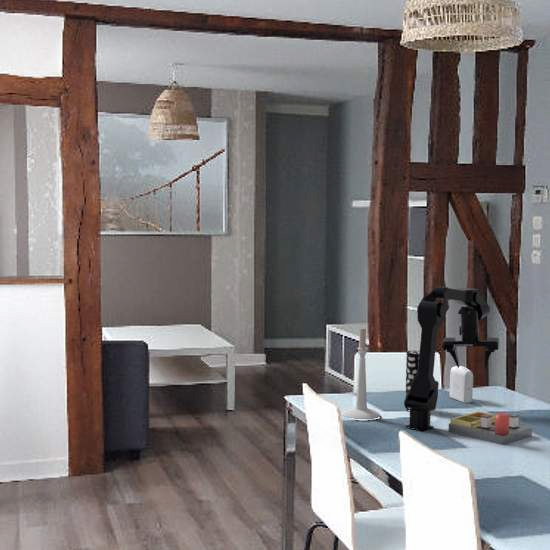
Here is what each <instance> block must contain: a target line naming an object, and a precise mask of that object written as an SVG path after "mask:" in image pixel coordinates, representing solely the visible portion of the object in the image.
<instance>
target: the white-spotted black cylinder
mask: <svg viewBox="0 0 550 550" xmlns="http://www.w3.org/2000/svg"><path fill="white" fill-rule="evenodd" d="M419 353H420V350H408V351H406V355H405V356H406V357H405V358H406V359H405V361H406V362H405V365H406V366H405V399H406V397H407V394H408V392H409V390H410V388H411V383H412V381H413V380H414V378H415V377H416V375H417V373H418V363H419ZM405 399H404V400H405ZM414 402H415V401H414ZM417 403H421V402H417ZM422 404H426V403H422ZM406 409H407V410H410V409H411V408H406Z"/></svg>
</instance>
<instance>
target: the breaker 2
mask: <svg viewBox="0 0 550 550" xmlns="http://www.w3.org/2000/svg"><path fill="white" fill-rule="evenodd" d="M509 415H510V417H509V426H510V427H517V426H518V425H519V421H520V414H516V413H511V414H509Z"/></svg>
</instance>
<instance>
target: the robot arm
mask: <svg viewBox="0 0 550 550" xmlns="http://www.w3.org/2000/svg"><path fill="white" fill-rule="evenodd" d="M437 300H443V301H442V302H441V301H437ZM449 301H454V302H455V303H456V304H458V305H462V306H461V307H460V308H459V309H458V312H457V314H458V315H460V323H461V324H460V326H459V328H458V334H459V336H461V340H457V339H456V337H445V338H443V341H442V342H441V343H442V345H441V347H442V350H444V351H446V353H449V354H450V356H451V357H452V359H453V361H454V362H455V364H456V365H455V366H457V367H458V368H459V366H460V360H459V355H458V354H459V353H458V347H485V352H484V354H485V355H484V369H486V368H487V366H488V362H489V359H490V356H491V354H492V353H495V351H498V350H499V349H500V339H499V337H487V338H486V340H480V339H481V332H480V328H479V320H482V319H483V318H485V317H487V316H489V314H490V312H491V308H490V305H489V304H488V303H487V302H486V301H485V298H484V297H482V295H481V293H480V292H479V289H477V288H468V287H459V288H451V287H450V288H449V287H448V286H435V287H434V288H433V289H432V290H431V292H429V293H428V294H426V295H425V296H423V297H422V299H420V302H419V304H418V305H417V308H416V312H417V322H418V324H419V326H420V328H421V332H420V333H421V334H420V345H419V351H420V353H419V363H418V373H417V375H416V377H415V378H414V380H413V381H412V383H411V388H410V390H409V392H408V394H407V397H406V396H405V397H406V399H404V401H403V405H404V409H405V408H411V409H410V412H409V424H406V425H405V427H406V426H407V427H410V428H409V429H411V428H414V429H413V430H415V429H417V430H416V431H419V430H420V432H422V431H427V430H431V429H433V428H435V427H434V425H431V412H432V411H434V410H436V407H437V402H438V398H439V397H438V396H439V385H440V383H439V381H436V379H435V376H434V371H435V370H434V369H435V359H436V349H437V348H436V347H437V338H438V330H440V328H441V326H442V324H443V323H444V320H445V315H446V314H447V312H448V310H449V309H450V304H449ZM414 401H415V402H414ZM417 402H421V403H417ZM422 403H426V404H422ZM407 427H406V428H407Z"/></svg>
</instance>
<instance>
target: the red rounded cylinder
mask: <svg viewBox="0 0 550 550" xmlns="http://www.w3.org/2000/svg"><path fill="white" fill-rule="evenodd" d="M495 415H496V416H495V433H496V434H499V435H508V434H509V417H510V414H509V413H506V412H497V413H495Z"/></svg>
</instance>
